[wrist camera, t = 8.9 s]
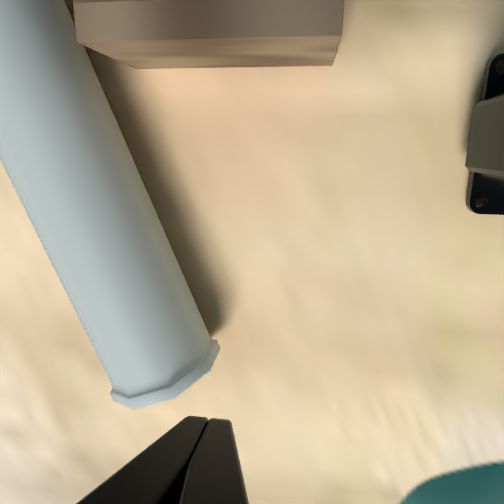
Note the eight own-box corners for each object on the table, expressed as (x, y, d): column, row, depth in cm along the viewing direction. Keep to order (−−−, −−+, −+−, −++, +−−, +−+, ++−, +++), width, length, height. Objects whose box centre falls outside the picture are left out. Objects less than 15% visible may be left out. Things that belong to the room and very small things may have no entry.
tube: (-203, -168, 15) (95, 412, 19) (-156, -305, 12) (177, 408, 16) (-48, -107, 19) (163, 351, 24) (11, -196, 16) (237, 340, 21)
